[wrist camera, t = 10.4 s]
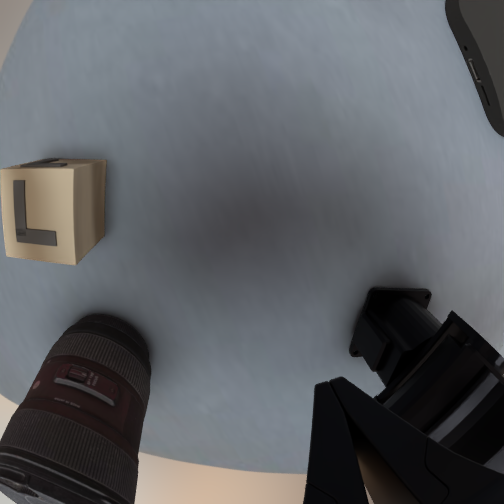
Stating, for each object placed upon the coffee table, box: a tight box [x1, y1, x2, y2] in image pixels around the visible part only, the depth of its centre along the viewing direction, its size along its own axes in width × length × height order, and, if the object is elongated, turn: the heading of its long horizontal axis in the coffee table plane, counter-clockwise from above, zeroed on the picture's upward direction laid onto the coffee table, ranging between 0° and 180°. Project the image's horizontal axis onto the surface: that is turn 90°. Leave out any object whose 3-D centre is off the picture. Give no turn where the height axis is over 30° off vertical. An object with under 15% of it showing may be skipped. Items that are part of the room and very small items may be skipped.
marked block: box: [1, 159, 107, 265], centre depth 15 cm, size 5×5×5 cm
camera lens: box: [0, 315, 151, 504], centre depth 15 cm, size 8×8×15 cm
